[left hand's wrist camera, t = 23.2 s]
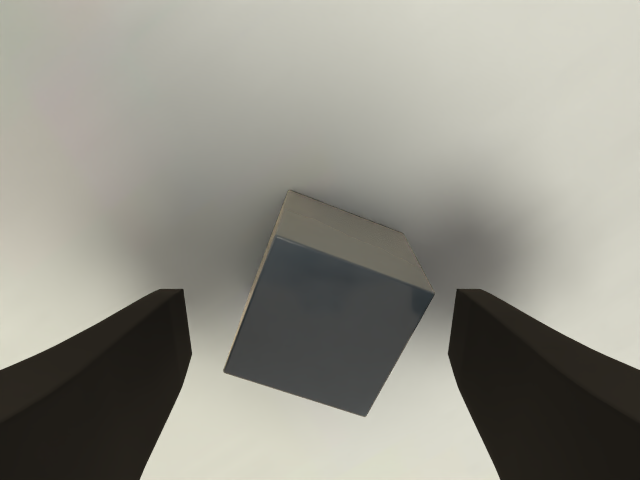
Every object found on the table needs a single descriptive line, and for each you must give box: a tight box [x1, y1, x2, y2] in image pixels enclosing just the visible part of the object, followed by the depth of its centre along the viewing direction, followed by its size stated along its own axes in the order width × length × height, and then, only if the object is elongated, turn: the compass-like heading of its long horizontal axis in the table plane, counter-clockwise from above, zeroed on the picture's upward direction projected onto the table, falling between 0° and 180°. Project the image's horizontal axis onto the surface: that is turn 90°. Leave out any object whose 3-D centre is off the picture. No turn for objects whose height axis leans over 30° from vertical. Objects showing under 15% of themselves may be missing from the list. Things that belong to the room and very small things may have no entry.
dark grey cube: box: [223, 190, 435, 417], centre depth 12 cm, size 4×4×4 cm
